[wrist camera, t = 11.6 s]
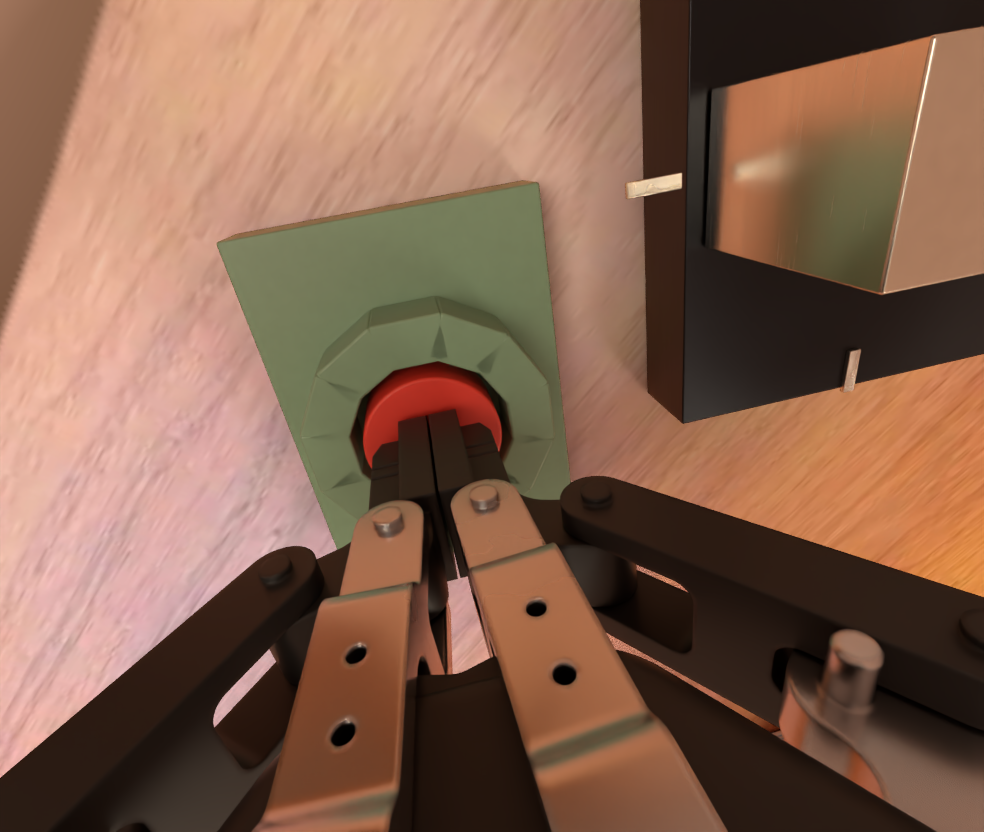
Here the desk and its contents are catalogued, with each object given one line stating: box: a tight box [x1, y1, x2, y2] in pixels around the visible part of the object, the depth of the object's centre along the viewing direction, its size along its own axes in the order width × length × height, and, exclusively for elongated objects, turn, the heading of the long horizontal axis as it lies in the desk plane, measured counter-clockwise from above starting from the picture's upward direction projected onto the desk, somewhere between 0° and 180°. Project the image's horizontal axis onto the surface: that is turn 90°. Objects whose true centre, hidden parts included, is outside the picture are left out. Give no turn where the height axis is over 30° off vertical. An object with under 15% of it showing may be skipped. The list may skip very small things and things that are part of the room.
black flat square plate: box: [625, 0, 984, 424], centre depth 14 cm, size 14×14×3 cm
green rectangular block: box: [217, 181, 571, 551], centre depth 15 cm, size 11×8×4 cm
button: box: [363, 361, 502, 469], centre depth 14 cm, size 4×4×2 cm
